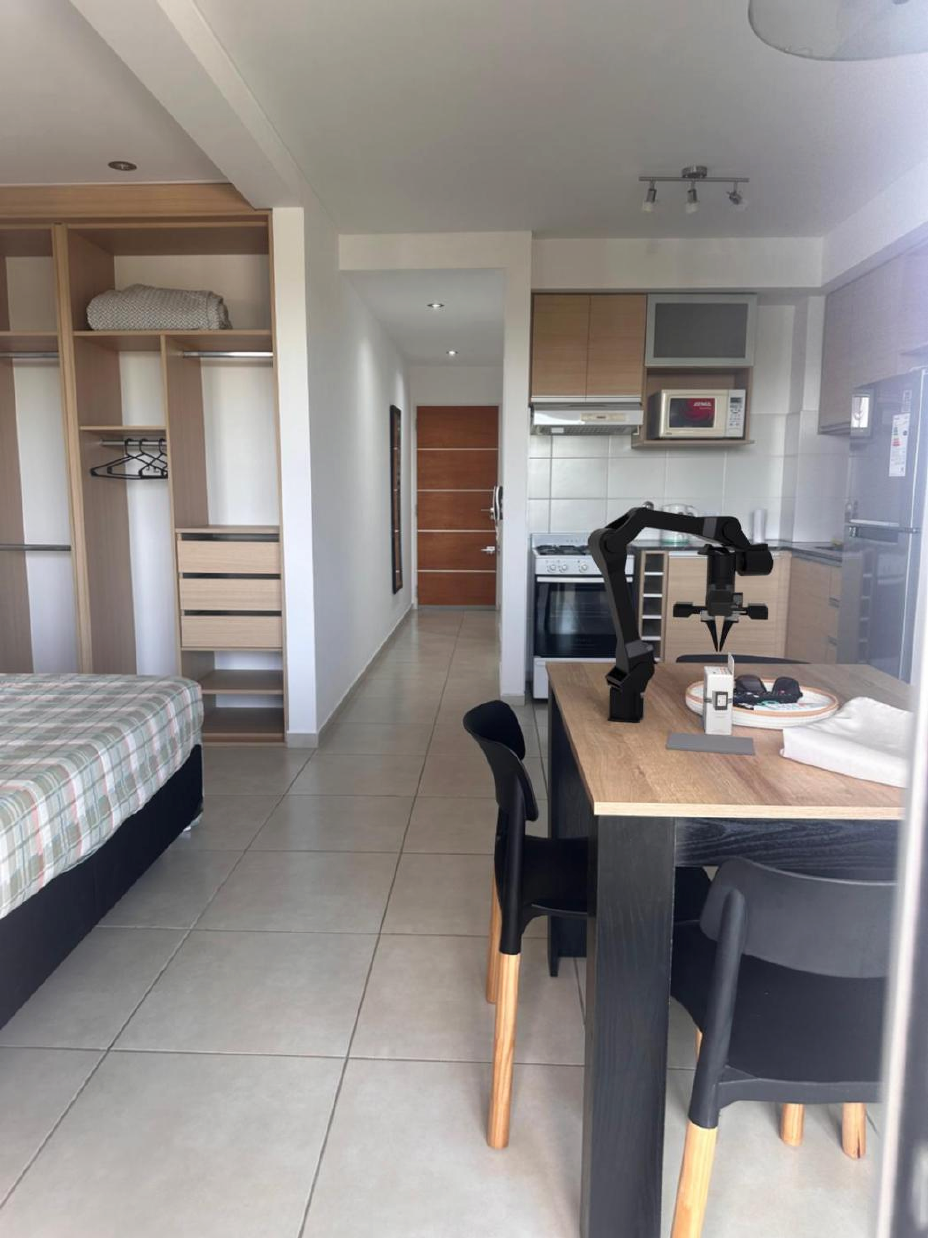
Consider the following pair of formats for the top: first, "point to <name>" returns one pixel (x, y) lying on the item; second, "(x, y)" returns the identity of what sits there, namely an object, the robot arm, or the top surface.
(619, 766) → the top surface
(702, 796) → the top surface
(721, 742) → the mat
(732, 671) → the ink box
